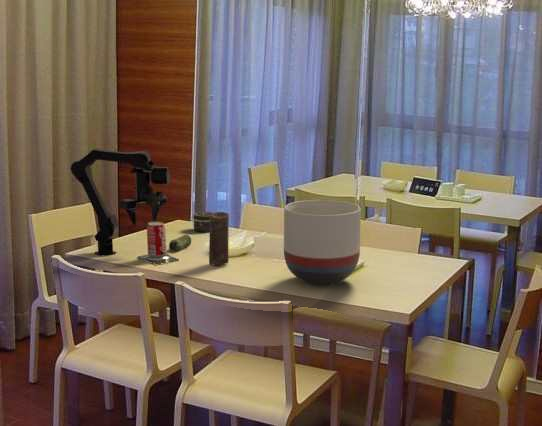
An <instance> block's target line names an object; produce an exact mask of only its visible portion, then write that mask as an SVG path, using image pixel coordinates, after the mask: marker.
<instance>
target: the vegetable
mask: <svg viewBox="0 0 542 426" xmlns="http://www.w3.org/2000/svg"><path fill="white" fill-rule="evenodd" d="M191 244H192V238H191V236H190V235H188V234H184V235H182V236H180V237H177V238H174V239H171V240H170V241H169V244H168V248H169V250H170V251H171V252H178V251H180V250H182V249H185V248H187V247H189V246H191Z"/></svg>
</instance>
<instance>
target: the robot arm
mask: <svg viewBox="0 0 542 426" xmlns="http://www.w3.org/2000/svg"><path fill="white" fill-rule="evenodd" d="M98 160H99V161H105V162H106V161H107V162H113V163H114V162H116V163H123V164H128V165H130V166H132V167H133V168H132V169H130V171H129V173H130V174H135V185H134V186H133V189H134V190H135V196H134V197H133V198H134V199H132V198H131V199H130V198H126V199H121V200H120V202H119V208H122V209H123V210H125V212H127V215H128V216H129V219H130V220H131V223H132V225H133V226H135V225H136V224H137V221H136V220H137V219H136V217H137V216H136V212H137V209H138V208H137V206H139V205H140V206H141V205H146V204H147V205H148V206H149V207H150V209H151V218H152V222H157V221H156V219H157V218H158V214H159V212H160V208H161V209H162V207H163V206H165V204H167V203H168V197H167V196H166V195H164V193H163V191H162V190H161V191H160V190H159V191H155V192H154V188H153V186H151V185H152V184H151V183H153V184H154V185H166V186H167V185H169V184H170V181H171V174H170V171H169V167H168V166H164V167H163V166H162V167H157V165H156V164H155V163H154V161H153V159H152V157H151V154H150V153H149V152H148V151H145V150H141V151H131V152H125V151H117V150H108V149H100V148H97V147H96V148H94V149H92V150H91V151H89V153H88V154H86V155H85V156H83V158H80V159H78V160H76V161H74V162H72V164H71V165H70V171H71V173H72V175H73V176H74V178H75V179H76V180H77V181H78V182H79V183H80V184H81V186H82V187H83V190H84V191H85V193H86V195H87V198H88V200H89V202H90V204H91V206H92V209H93V210H94V212H95V214H96V217H97V225H98V229H99V231H98V232H97V233H96V234H94V236H93V237H94V239H95V241H96V242H97V251H94V254H96V253H97V254H96V255H98V254H99V256H101V255H106V256H110V255H109V254H111V255H115V253H116V254H117V251H114V243H113V237H114V236H115V233H116V232H118V230H119V223H120V221H119V220H118V219H117V215H116V214H115V213H113V214H111V213H110V211H108V208H107V207H106V205H105V203H104V201H103V199H102V196H101V194H100V193H99V190H98V187H97V186H96V184H95V181H94V179H93V172H92V168H91V166H93V165H94V164H95V162H97V161H98Z"/></svg>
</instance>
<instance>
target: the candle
mask: <svg viewBox="0 0 542 426" xmlns="http://www.w3.org/2000/svg"><path fill="white" fill-rule="evenodd" d="M229 218H230V215H229V213H228V212H224V211H216V212H212V214H211V215H210V232H209V243H208V244H209V247H208V248H209V249H208V251H209V252H208V254H209V255H208V264H209V265H212V266H216V267H220V266H223V265H226V264H228V263H229V233H230V232H229V225H230V223H229V222H230V221H229V220H230V219H229Z"/></svg>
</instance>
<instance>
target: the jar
mask: <svg viewBox="0 0 542 426" xmlns="http://www.w3.org/2000/svg"><path fill="white" fill-rule="evenodd" d="M212 213H213V212H211V211H198V212H195V213H193V216H192V220H193V230H194V231H195V232H196V233H200V234H201V233H202V234H203V233H205V234H207V233H209V234H210V215H211V214H212Z"/></svg>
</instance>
